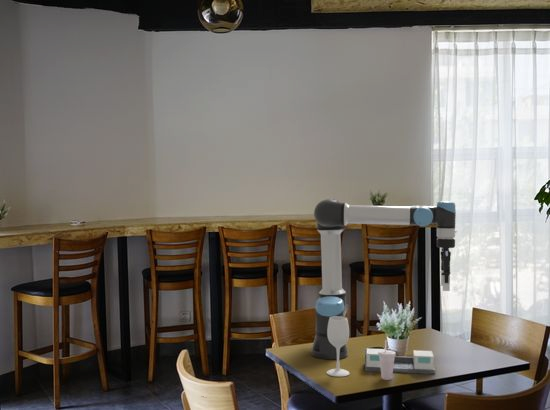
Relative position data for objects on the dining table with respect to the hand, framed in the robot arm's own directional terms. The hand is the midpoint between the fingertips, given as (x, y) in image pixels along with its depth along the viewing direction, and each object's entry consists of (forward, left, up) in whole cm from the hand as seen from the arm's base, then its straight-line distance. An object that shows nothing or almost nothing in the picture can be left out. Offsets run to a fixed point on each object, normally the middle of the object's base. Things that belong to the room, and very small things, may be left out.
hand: (445, 288), depth 268 cm
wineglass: (-43, -38, -28) cm, 63 cm away
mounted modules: (-20, -28, -26) cm, 43 cm away
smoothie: (-25, -41, -28) cm, 55 cm away
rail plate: (-20, -28, -27) cm, 44 cm away
